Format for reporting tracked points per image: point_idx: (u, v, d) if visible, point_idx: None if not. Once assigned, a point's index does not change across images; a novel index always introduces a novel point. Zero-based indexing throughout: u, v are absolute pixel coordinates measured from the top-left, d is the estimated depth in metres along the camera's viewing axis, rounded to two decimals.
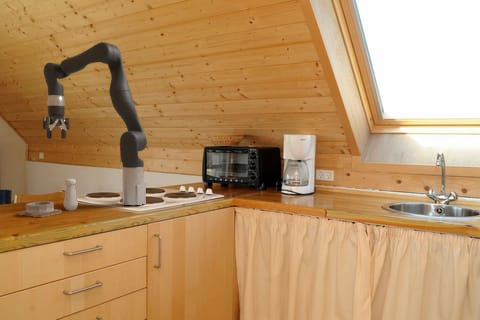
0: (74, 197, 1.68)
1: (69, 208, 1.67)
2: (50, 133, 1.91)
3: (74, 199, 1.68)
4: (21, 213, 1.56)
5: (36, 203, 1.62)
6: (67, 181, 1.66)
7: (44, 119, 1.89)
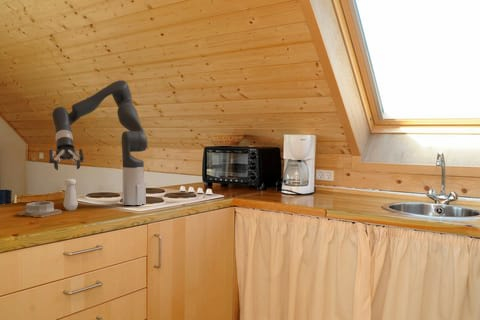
0: (74, 197, 1.68)
1: (69, 208, 1.67)
2: None
3: (74, 199, 1.68)
4: (21, 213, 1.56)
5: (36, 203, 1.62)
6: (67, 181, 1.66)
7: None
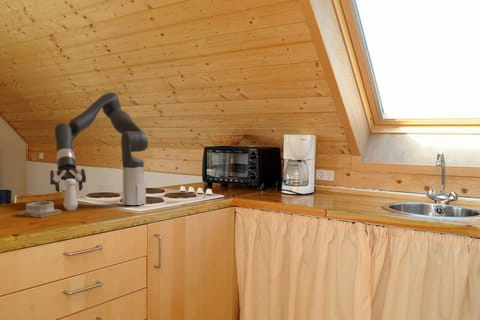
0: (74, 197, 1.68)
1: (69, 208, 1.67)
2: None
3: (74, 199, 1.68)
4: (21, 213, 1.56)
5: (36, 203, 1.62)
6: (67, 181, 1.66)
7: None
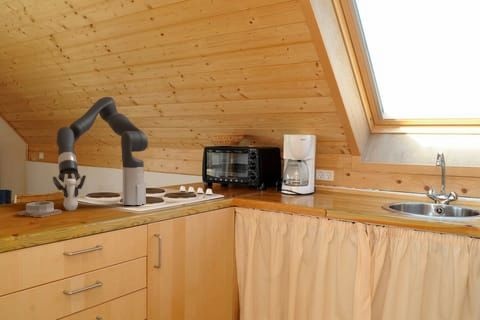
0: (74, 197, 1.68)
1: (69, 208, 1.67)
2: None
3: (74, 199, 1.68)
4: (21, 213, 1.56)
5: (36, 203, 1.62)
6: (67, 181, 1.66)
7: None
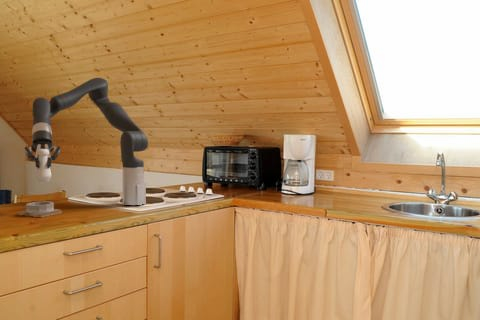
0: (46, 167, 1.59)
1: (41, 179, 1.59)
2: None
3: (46, 170, 1.59)
4: (21, 213, 1.56)
5: (36, 203, 1.62)
6: (39, 151, 1.58)
7: (59, 150, 1.66)
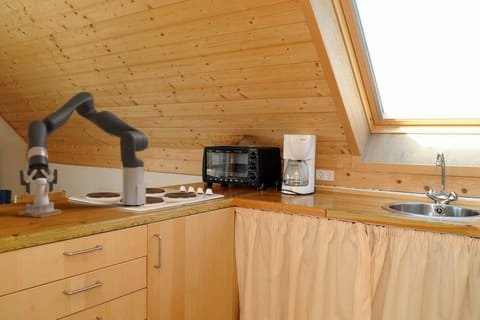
0: (44, 197, 1.59)
1: None
2: None
3: (45, 199, 1.59)
4: (21, 213, 1.56)
5: None
6: (37, 180, 1.57)
7: None
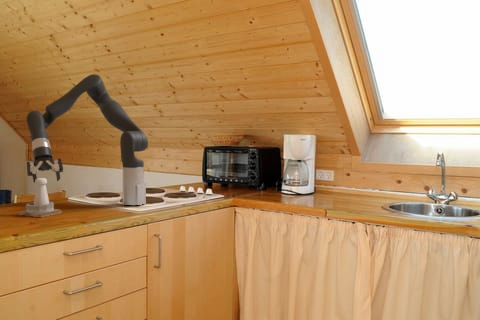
0: (44, 197, 1.59)
1: None
2: None
3: (45, 199, 1.59)
4: (21, 213, 1.56)
5: None
6: (37, 180, 1.57)
7: None
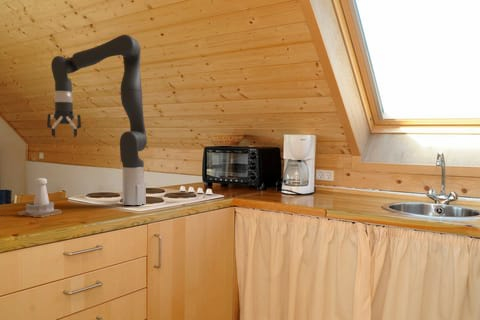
0: (44, 197, 1.59)
1: None
2: None
3: (45, 199, 1.59)
4: (21, 213, 1.56)
5: None
6: (37, 180, 1.57)
7: None
